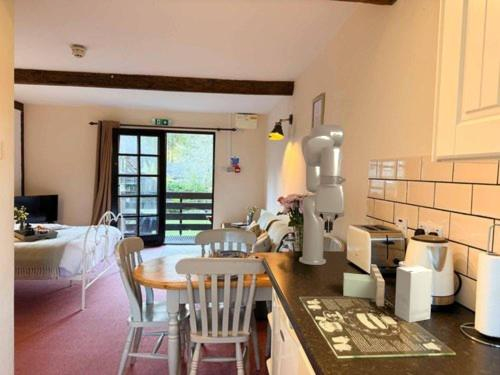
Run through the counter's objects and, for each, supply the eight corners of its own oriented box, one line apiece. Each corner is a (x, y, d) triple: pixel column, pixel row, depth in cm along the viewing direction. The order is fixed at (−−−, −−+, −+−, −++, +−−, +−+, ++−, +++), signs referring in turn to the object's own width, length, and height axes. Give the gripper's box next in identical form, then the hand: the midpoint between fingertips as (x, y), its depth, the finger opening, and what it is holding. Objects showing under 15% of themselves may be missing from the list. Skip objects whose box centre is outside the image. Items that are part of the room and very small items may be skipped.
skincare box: (415, 312, 108) (417, 264, 107) (431, 320, 102) (434, 269, 102) (393, 315, 105) (395, 266, 104) (408, 323, 99) (411, 271, 99)
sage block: (343, 288, 129) (343, 272, 129) (371, 291, 127) (372, 275, 126) (343, 296, 121) (344, 278, 121) (374, 299, 119) (375, 281, 119)
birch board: (369, 285, 134) (370, 264, 133) (375, 285, 133) (376, 264, 133) (376, 305, 112) (378, 281, 112) (383, 306, 112) (384, 281, 112)
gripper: (351, 181, 127) (349, 231, 128) (309, 180, 131) (307, 229, 132) (352, 182, 120) (350, 235, 121) (308, 180, 123) (306, 232, 124)
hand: (328, 232), depth 126 cm, fingers closed
